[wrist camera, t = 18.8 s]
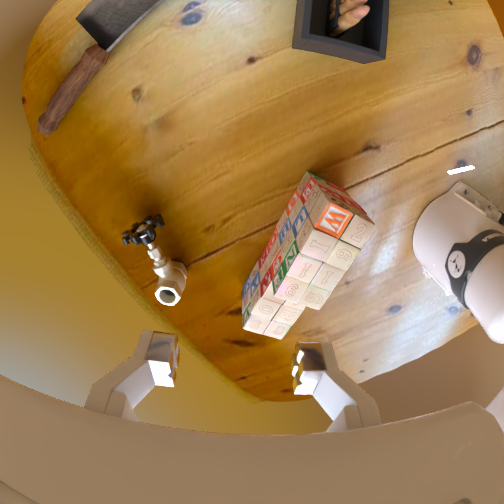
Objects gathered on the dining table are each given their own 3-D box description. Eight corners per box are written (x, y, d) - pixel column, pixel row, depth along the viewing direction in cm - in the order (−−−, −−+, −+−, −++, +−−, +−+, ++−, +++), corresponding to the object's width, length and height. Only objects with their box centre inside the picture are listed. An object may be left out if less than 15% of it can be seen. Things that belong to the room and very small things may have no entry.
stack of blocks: (276, 299, 48) (282, 356, 37) (241, 287, 46) (240, 345, 36) (344, 188, 38) (378, 226, 27) (306, 168, 37) (329, 201, 26)
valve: (200, 275, 45) (167, 208, 39) (194, 302, 39) (154, 229, 34) (164, 284, 46) (130, 223, 40) (155, 311, 40) (113, 244, 34)
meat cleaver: (173, -68, 17) (166, -80, 13) (225, -35, 21) (222, -47, 18) (23, 95, 28) (7, 98, 25) (59, 135, 33) (44, 140, 29)
